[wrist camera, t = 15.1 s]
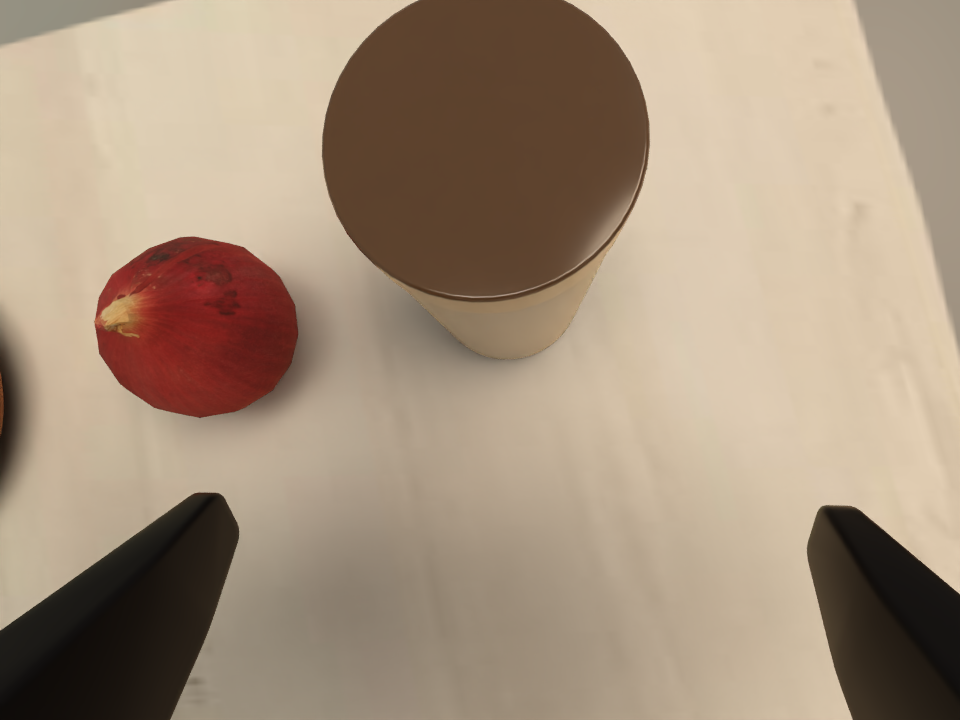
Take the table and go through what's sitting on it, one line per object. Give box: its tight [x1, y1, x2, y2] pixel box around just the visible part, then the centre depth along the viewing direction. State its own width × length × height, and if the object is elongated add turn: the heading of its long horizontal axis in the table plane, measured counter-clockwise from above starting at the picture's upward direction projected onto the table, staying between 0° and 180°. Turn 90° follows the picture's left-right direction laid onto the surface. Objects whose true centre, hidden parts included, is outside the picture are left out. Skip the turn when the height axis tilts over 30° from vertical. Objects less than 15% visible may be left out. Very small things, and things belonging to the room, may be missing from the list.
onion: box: [94, 237, 298, 418], centre depth 19 cm, size 6×6×8 cm
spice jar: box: [322, 0, 650, 360], centre depth 16 cm, size 6×6×12 cm
